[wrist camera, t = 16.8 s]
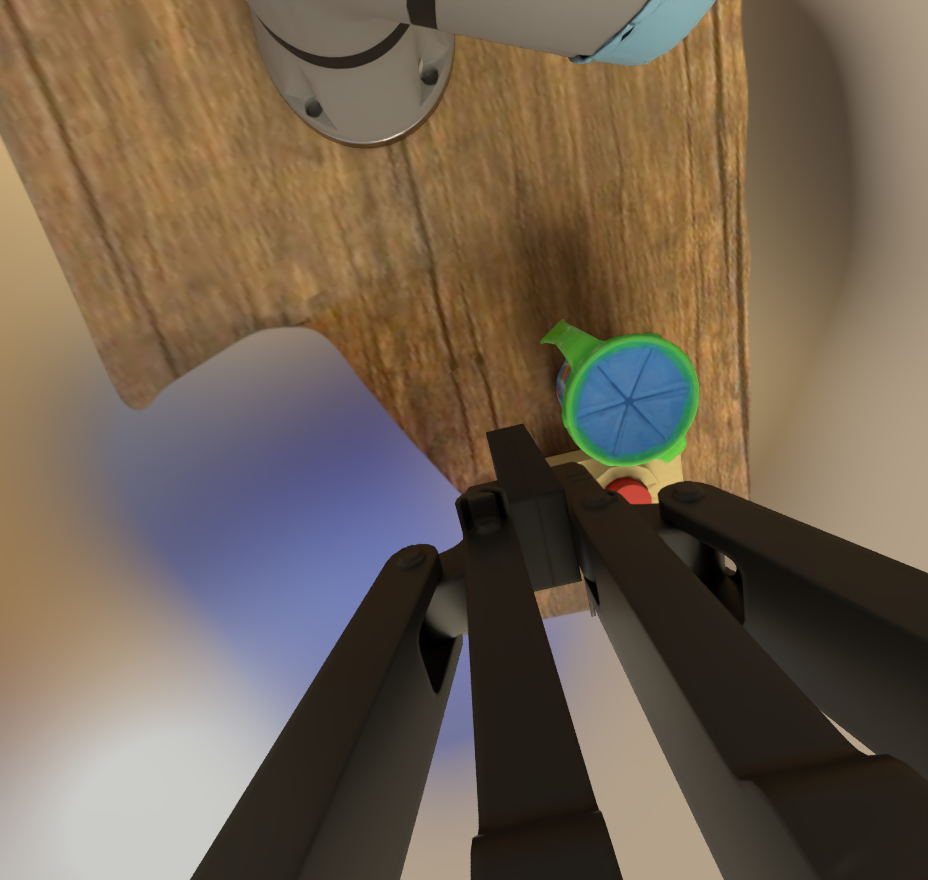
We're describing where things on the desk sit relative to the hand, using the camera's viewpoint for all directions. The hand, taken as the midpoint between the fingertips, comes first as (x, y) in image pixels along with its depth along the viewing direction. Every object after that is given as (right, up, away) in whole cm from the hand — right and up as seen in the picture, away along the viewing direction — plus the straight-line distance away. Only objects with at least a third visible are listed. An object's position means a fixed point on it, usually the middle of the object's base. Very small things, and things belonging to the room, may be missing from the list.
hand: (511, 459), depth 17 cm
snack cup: (+11, +7, +26) cm, 29 cm away
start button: (+13, -5, +25) cm, 28 cm away
